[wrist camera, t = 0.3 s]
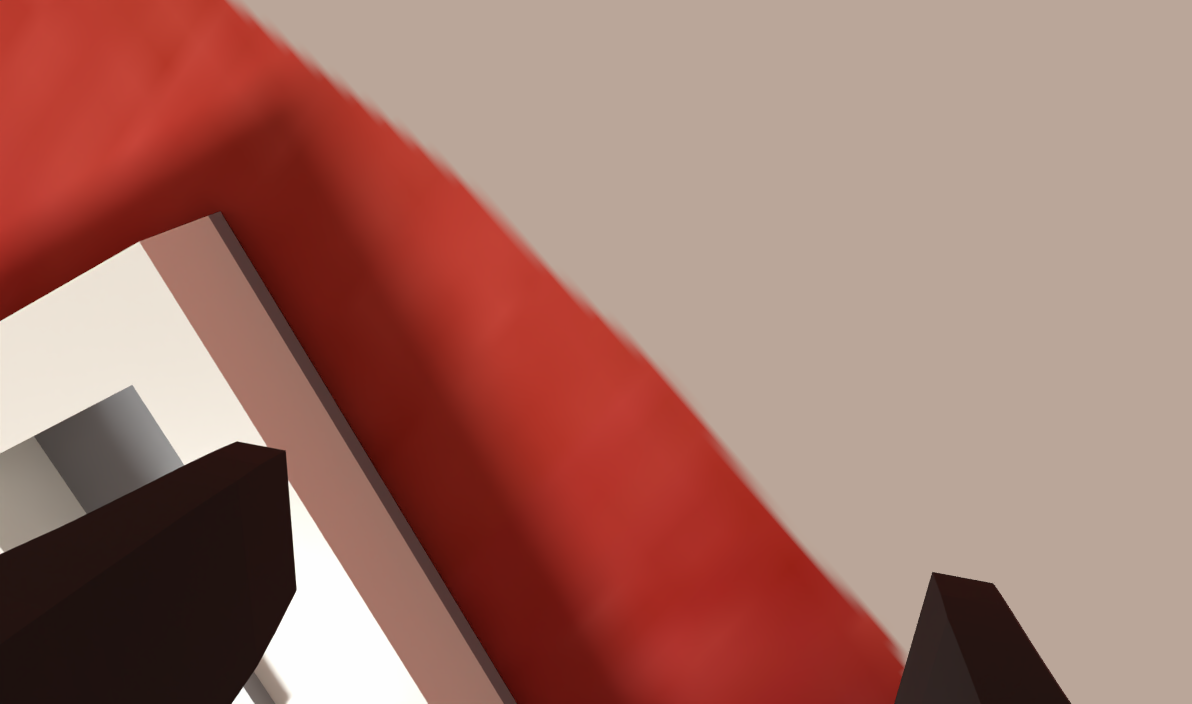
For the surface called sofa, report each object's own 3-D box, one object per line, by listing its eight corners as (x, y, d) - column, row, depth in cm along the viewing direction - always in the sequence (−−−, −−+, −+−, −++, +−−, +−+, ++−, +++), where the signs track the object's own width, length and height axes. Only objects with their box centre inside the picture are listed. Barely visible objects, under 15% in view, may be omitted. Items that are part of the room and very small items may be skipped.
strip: (320, 930, 29) (260, 1049, 25) (-65, 373, 25) (-193, 429, 22) (603, 848, 26) (577, 969, 23) (219, 210, 22) (123, 247, 19)
